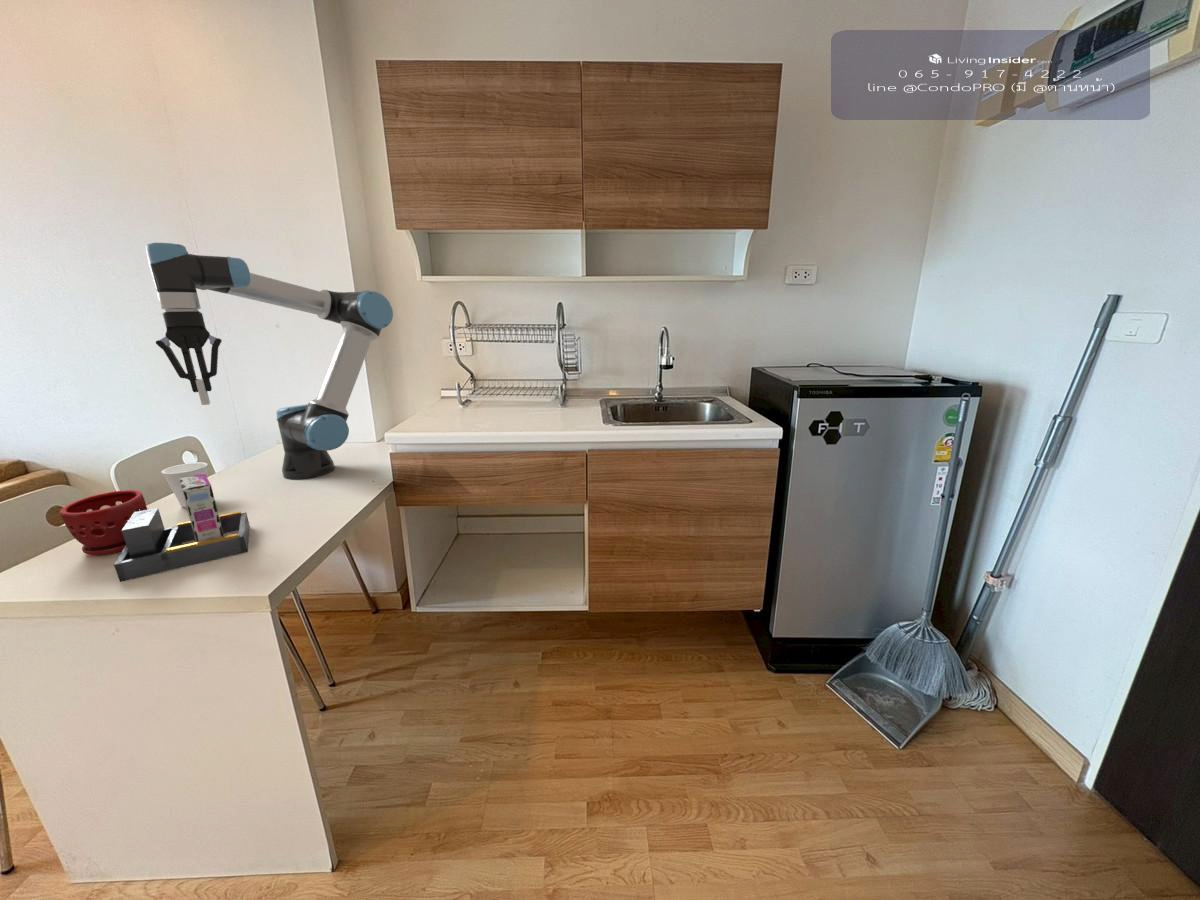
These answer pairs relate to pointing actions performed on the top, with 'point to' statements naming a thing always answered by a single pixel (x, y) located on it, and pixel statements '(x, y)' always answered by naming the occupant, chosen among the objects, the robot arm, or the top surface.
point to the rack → (175, 544)
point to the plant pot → (102, 520)
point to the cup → (183, 471)
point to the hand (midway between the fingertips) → (206, 403)
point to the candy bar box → (201, 507)
